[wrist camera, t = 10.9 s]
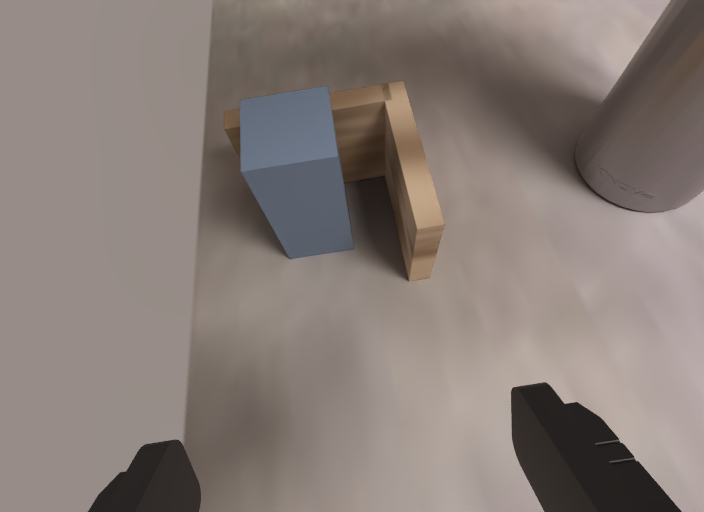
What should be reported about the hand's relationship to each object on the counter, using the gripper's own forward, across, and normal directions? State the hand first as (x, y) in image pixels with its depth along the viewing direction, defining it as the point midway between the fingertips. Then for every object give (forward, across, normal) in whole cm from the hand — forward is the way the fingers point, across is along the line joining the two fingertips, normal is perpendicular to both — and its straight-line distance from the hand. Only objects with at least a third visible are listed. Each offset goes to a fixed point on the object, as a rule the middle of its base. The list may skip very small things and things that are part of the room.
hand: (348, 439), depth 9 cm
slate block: (+22, +2, +1) cm, 22 cm away
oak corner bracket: (+22, 0, +1) cm, 22 cm away
